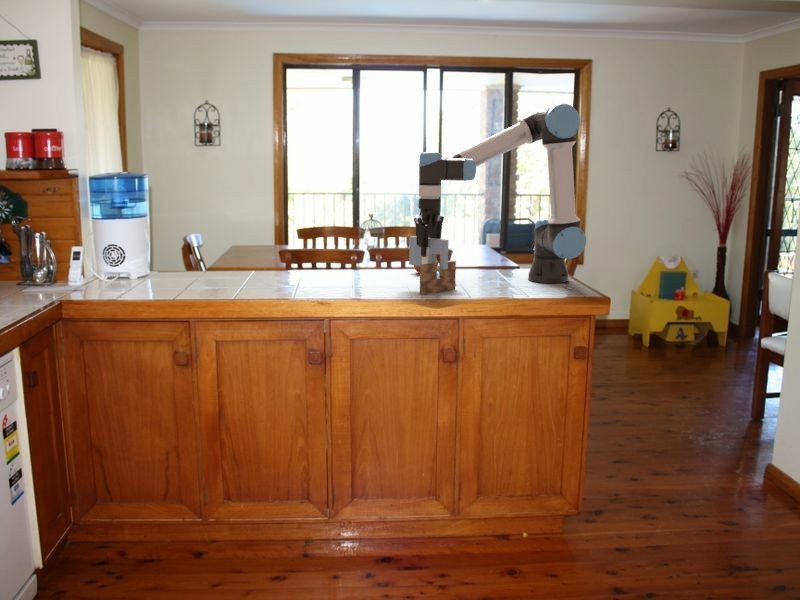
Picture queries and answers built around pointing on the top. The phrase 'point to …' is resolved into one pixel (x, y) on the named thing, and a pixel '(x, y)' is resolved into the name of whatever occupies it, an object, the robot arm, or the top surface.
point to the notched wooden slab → (437, 278)
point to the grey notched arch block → (434, 248)
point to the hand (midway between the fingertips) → (428, 265)
